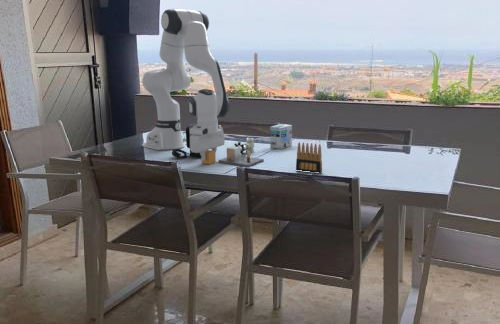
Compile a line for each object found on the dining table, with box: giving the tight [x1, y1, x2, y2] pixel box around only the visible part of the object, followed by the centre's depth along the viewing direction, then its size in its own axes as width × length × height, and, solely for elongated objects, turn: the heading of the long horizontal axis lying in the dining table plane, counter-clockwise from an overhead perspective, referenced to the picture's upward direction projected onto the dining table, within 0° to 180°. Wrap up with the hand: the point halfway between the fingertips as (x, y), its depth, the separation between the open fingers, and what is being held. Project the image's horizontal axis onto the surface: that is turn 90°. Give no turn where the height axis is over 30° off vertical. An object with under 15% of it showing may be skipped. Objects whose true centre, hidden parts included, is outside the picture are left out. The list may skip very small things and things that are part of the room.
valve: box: [234, 137, 255, 156], centre depth 224 cm, size 7×7×12 cm
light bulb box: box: [269, 123, 293, 150], centre depth 238 cm, size 11×7×11 cm, turn 143°
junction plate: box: [218, 145, 265, 168], centre depth 207 cm, size 16×12×6 cm
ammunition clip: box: [295, 141, 323, 174], centre depth 189 cm, size 11×2×12 cm, turn 61°
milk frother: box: [171, 122, 201, 159], centre depth 217 cm, size 14×16×15 cm
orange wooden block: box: [200, 149, 217, 165], centre depth 206 cm, size 4×4×5 cm
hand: (208, 159), depth 206 cm, fingers closed on orange wooden block, 4 cm apart
